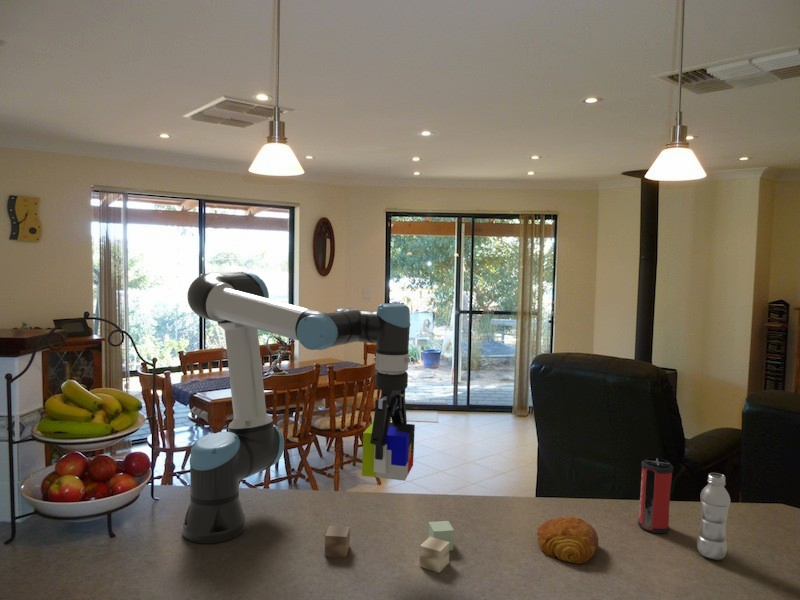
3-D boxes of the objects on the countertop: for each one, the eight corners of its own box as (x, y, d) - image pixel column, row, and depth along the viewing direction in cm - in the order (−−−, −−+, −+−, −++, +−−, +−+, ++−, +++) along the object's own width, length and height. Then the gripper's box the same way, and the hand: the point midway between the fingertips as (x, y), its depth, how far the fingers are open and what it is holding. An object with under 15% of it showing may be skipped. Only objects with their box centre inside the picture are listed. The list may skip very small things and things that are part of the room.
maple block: (419, 566, 132) (420, 545, 132) (429, 557, 137) (430, 536, 136) (439, 573, 130) (440, 551, 130) (448, 563, 134) (449, 542, 134)
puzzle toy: (404, 480, 131) (406, 437, 130) (361, 475, 133) (363, 432, 132) (413, 465, 141) (414, 424, 140) (372, 460, 143) (374, 420, 142)
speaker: (670, 536, 150) (675, 468, 149) (638, 531, 153) (642, 464, 151) (667, 524, 157) (672, 459, 156) (637, 518, 160) (641, 454, 159)
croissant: (600, 550, 147) (603, 518, 147) (592, 571, 132) (596, 536, 133) (542, 535, 153) (545, 505, 153) (529, 554, 139) (532, 520, 139)
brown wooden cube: (324, 556, 136) (325, 535, 135) (328, 545, 141) (329, 525, 140) (345, 557, 135) (346, 536, 135) (349, 547, 140) (349, 526, 140)
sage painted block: (433, 551, 139) (433, 531, 139) (428, 541, 144) (428, 522, 144) (453, 550, 140) (454, 530, 140) (447, 540, 145) (448, 520, 145)
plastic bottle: (723, 552, 143) (729, 472, 141) (728, 565, 136) (735, 482, 135) (694, 547, 145) (699, 468, 143) (698, 560, 139) (704, 478, 137)
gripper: (389, 382, 123) (386, 484, 125) (422, 364, 144) (418, 451, 146) (357, 378, 125) (353, 478, 127) (393, 361, 147) (390, 446, 149)
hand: (388, 464), depth 137 cm, fingers closed on puzzle toy, 10 cm apart
